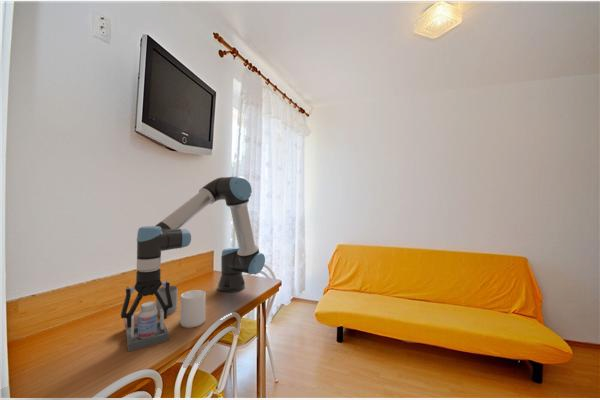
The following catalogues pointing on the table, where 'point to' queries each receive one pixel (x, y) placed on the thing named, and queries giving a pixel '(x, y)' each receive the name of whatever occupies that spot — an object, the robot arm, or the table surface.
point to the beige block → (134, 320)
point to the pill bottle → (147, 320)
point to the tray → (139, 343)
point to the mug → (192, 308)
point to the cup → (173, 295)
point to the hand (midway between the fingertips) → (147, 331)
